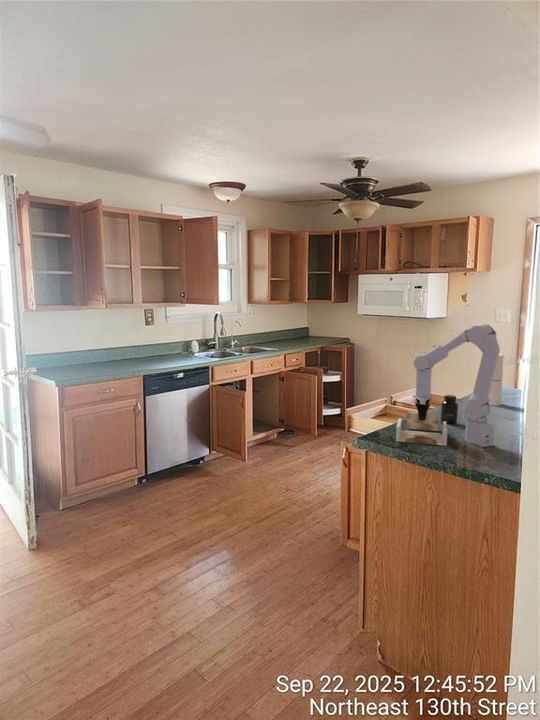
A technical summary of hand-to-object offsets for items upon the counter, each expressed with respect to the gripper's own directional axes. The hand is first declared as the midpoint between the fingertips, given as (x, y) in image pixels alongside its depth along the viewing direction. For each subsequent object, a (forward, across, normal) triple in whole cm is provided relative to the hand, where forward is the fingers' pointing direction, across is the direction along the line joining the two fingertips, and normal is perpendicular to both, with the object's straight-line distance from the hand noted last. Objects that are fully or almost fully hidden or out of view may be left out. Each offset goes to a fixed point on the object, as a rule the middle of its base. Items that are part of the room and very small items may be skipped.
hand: (422, 418), depth 194 cm
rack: (+6, +12, 0) cm, 13 cm away
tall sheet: (+6, 0, 0) cm, 6 cm away
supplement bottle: (+6, -16, +11) cm, 20 cm away
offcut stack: (+5, +17, 0) cm, 18 cm away
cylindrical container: (+6, -59, +33) cm, 68 cm away
